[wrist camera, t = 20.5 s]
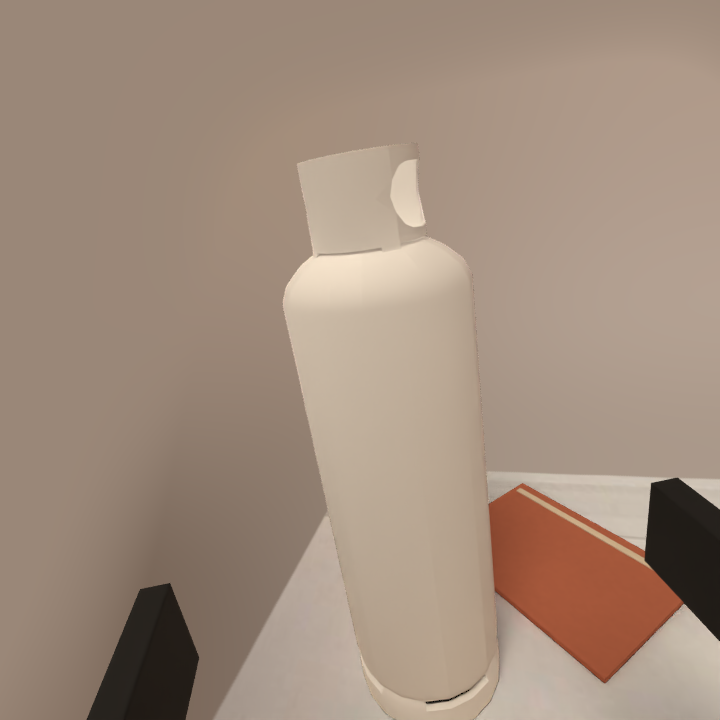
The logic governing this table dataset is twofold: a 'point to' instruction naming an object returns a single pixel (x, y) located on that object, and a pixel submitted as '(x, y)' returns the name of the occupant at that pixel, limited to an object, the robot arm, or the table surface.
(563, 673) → the table surface
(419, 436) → the bottle
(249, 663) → the table surface
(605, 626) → the notebook
